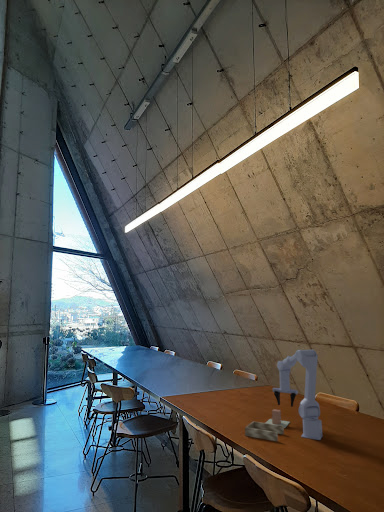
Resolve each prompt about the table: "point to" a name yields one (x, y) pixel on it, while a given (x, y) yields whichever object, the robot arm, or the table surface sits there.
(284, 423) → the mat
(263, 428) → the slot housing
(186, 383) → the table surface
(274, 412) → the terracotta block
